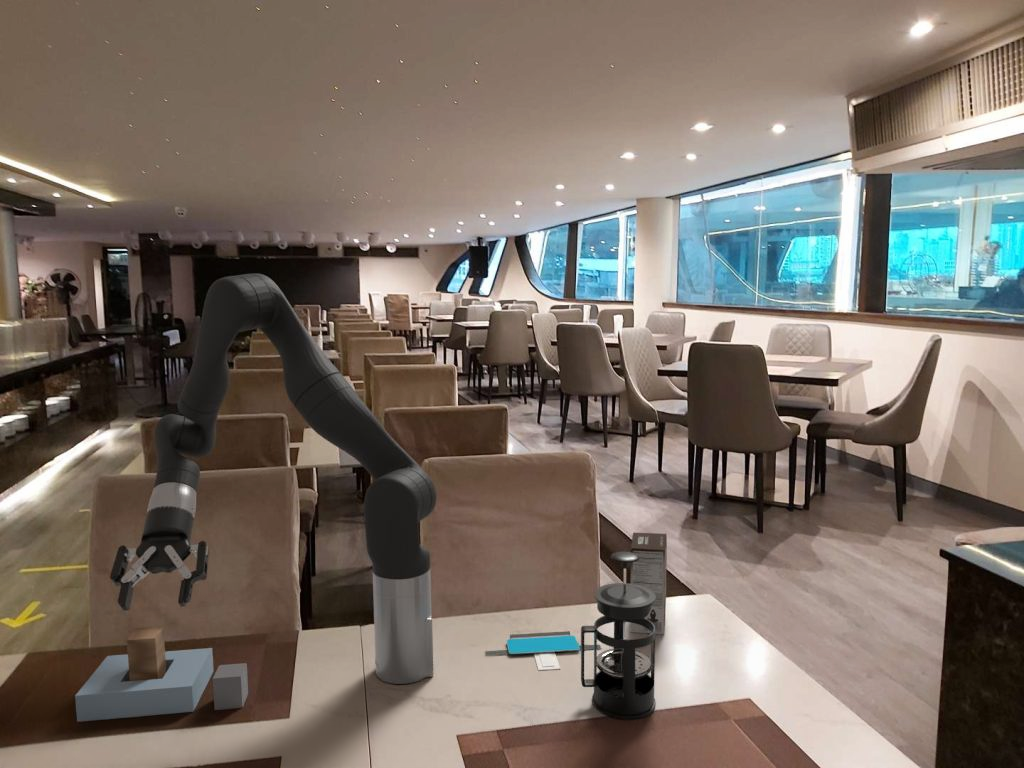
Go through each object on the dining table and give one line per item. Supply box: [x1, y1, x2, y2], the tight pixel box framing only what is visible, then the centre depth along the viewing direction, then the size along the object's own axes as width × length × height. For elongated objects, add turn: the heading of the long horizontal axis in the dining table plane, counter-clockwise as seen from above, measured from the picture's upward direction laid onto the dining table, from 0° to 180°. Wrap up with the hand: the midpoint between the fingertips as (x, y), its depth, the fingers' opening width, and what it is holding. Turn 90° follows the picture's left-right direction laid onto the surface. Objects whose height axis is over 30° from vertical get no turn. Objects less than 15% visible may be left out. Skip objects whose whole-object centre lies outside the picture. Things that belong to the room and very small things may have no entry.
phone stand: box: [485, 630, 602, 672], centre depth 126 cm, size 20×12×2 cm, turn 96°
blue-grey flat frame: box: [74, 647, 215, 723], centre depth 113 cm, size 16×12×4 cm
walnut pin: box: [126, 625, 166, 681], centre depth 113 cm, size 4×4×10 cm
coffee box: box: [629, 532, 668, 636], centre depth 136 cm, size 9×6×16 cm
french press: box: [580, 551, 657, 721], centre depth 109 cm, size 12×9×23 cm
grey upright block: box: [212, 662, 249, 711], centre depth 111 cm, size 4×4×5 cm
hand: (153, 606), depth 116 cm, fingers open, 8 cm apart
